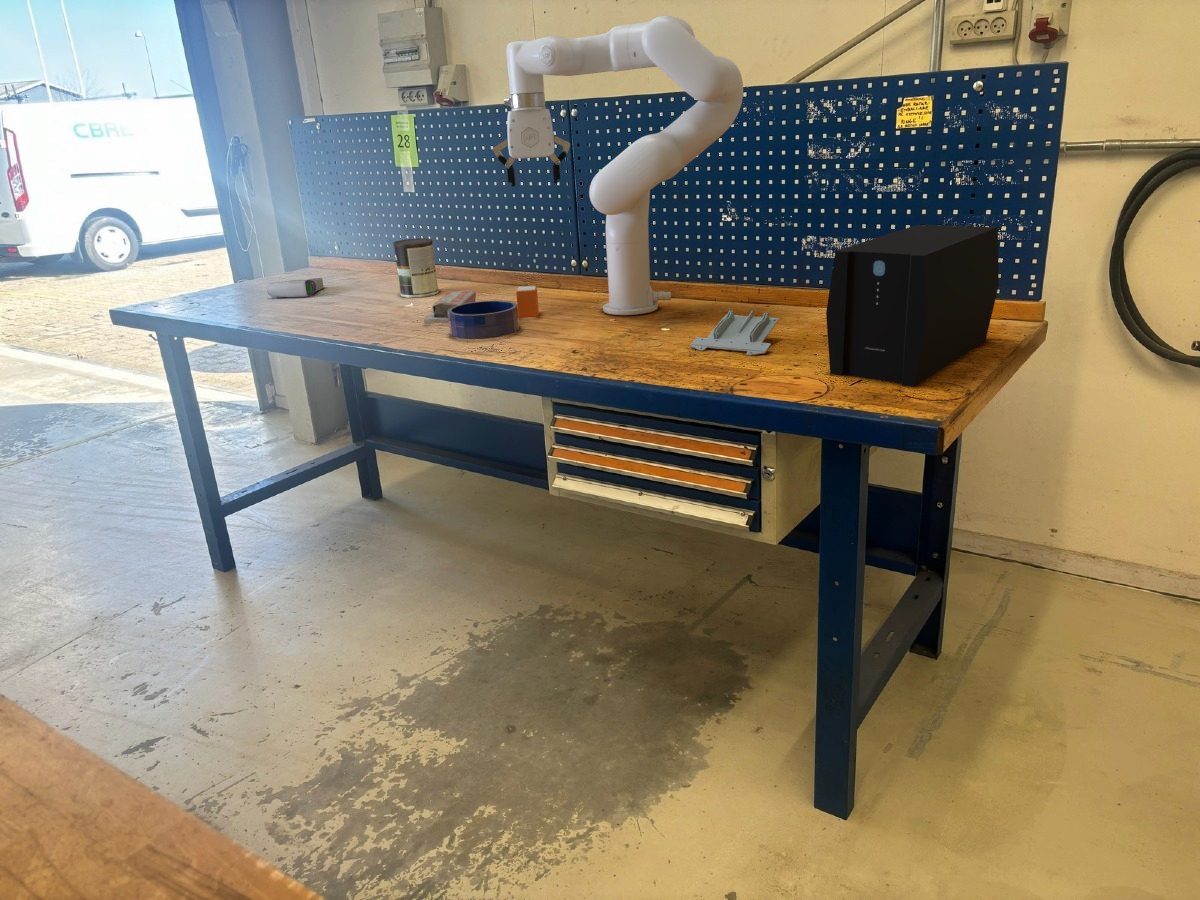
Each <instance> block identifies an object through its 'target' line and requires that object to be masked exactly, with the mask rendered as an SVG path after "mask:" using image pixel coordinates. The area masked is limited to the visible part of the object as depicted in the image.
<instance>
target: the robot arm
mask: <svg viewBox="0 0 1200 900" xmlns="http://www.w3.org/2000/svg"><path fill="white" fill-rule="evenodd" d="M505 52H506V53H505V54H506V66H507V76H508V86H509V87H508V88H509V97H507V98H503V105H504V106H508V107H510V108H511V110H508V111H507V118H506V119H507V121H506V127H507V131H506V133H507V138H506V139H504V140H503V141H502V142H500V143H498V144H497V145H495V146H494V147H493V148H492V152H493V153H494V155H495V157H496V158H497V160H498V161H499V162H500V163H501V164H502V165H503V166H504V167H505V168H506V171H507V173H506V174H507V181H508V182H507V183H510V184H511V187H515V186H516V175H515V167H514V165H513V164H514V162H515V161H516V159H531V158H534V159H535V158H546V157H549V159H550V160H551V161H552V162H553V165H552V171H553V173H552V174H553V175H552V176H553V183H554V184H555V185H557V184H558V182H559V181H558V180H561V170H560V169H561V168H560V164H561V163H562V161H563V160H564V159H565V158H566V157H567V155H568V153H569V150H570V147H571V143H570V142H569V141H566V140H564V139H562V138H560V137H558V136H556V135H554V129H553V123H552V122H553V121H552V117H551V112H550V109H549V108H546V96H545V95H546V94H545V84H544V83H545V82H544V76H555V77H556V76H561V77H562V76H563V77H574V76H583V75H591V74H592V75H593V74H599V73H608V72H613V73H614V72H615V73H617V72H623V71H631V70H639V69H648V68H658V69H660V70H661V72H663V74H665V75H666V76H667V77H668V78H670V79H671V80H672V81H673V82H674V83H675V84H676V85H677V86H678V87H680V88H681V89H682V90H683V91H684V92H685V93H686V94H687V95H689V96H690V97H691V98H693V99H694V100H696V102H695V104H693V105H692V106H691V107H690V108H688V109H687V110H686V111H684V112H683V113H681V115H679V116H678V117H677V118H676V119H675V120H674V121H672V122H671V123H670V124H669V125H668V126H666V127H665V128H663V130H661V131H659V132H657V133H652V134H647V135H644V136H641V137H640V138H638V139H637V140H635V141H634V142H632V143H631V144H630V145H629V146H627V147H626V148H625V149H624V150H623V151H622V152H620V153H619V154H618V155H617V156H616V157H614V158H613V159H612V160H611V161H610V162H609V163H607V164H606V165H605V166H604V167H602V168H601V169H600V170H599V171H598V172H597V173H596V174H595V175H594V176H593V178H592V180H591V182H590V185H589V190H588V191H589V192H588V195H589V199H590V203H591V205H592V206H593V208H594V209H595V210H596V211H597V212H599V213H601V214H604V215H605V246H606V247H605V249H606V266H607V268H606V269H607V284H608V302H606V303H605V304H603V306H602V311H603V313H605V314H608V315H614V316H636V315H644V314H649V313H652V312H654V311H656V310H658V308H659V304H658V301H664V302H665V301H672V293H671V291H664V290H663V291H655V290H653V287H652V286H651V271H650V270H651V268H650V266H651V265H650V238H649V237H650V236H649V235H650V234H649V233H650V232H649V212H650V200H651V199H650V198H651V190H652V189H654V188H655V187H656V186H657V185H659V184H660V183H662V182H665V181H668V180H670V179H672V178H674V177H676V175H678V173H679V172H680V171H682V169H684V168H685V167H686V166H687V165H689V164H690V163H691V162H692V161H693V160H695V159H696V158H697V157H698V156H699V155H700V154H702V153H703V152H704V151H705V150H706V149H707V148H709V147H710V146H712V145H713V144H714V143H715V142H716V141H717V140H718V139H719V138H720V137H722V136H723V135H724V134H725V132H727V131H728V129H730V127H732V125H733V123H734V122H735V120H736V119H737V116H738V115H739V112H740V109H741V107H742V104H743V99H744V82H743V77H742V73H741V70H740V69H739V67H738V65H737V64H736V62H734V61H733V60H731V59H729V58H727V57H724V56H720V55H716V54H714V53H713V51H711V50H710V49H709V48H707V47H706V46H705V45H704V44H702V43H701V42H700V41H699V40H698V39H697V38H696V37H695V33H694V30H693V28H692V26H691V25H690V24H689V22H687V21H686V20H684V19H682V18H679V17H676V16H672V15H660V16H657V17H654V18H652V19H651V20H649V21H643V22H637V23H627V24H619V25H615V26H613V27H612V28H610V30H609V31H607V32H604V33H601V34H595V35H589V36H581V37H564V36H557V35H548V36H543V37H539V38H537V39H533V40H531V39H530V40H529V39H527V40H525V39H524V40H515V41H511V42H509V43H507V45H506V48H505ZM555 144H557V145H559V146H562V151H561V153H559V155H558V156H557V155H556V154H555ZM506 147H507V148H508V155H509V157H508V159H507V158H506V157H505V156H504V155H503V153H502V150H504V149H505V148H506Z"/></svg>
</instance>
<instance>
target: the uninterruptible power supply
mask: <svg viewBox="0 0 1200 900" xmlns="http://www.w3.org/2000/svg"><path fill="white" fill-rule="evenodd" d="M999 271H1000V270H999V227H998V226H979V225H977V226H975V225H945V224H944V225H941V224H940V225H939V224H935V225H934V224H915V225H911V226H909V227H906V228H903V229H899V230H897V231H893V232H890V233H887V234H885V235H881V236H878V237H875V238H872V239H869V240H865V241H863V242H860V243H859V242H858V243H856V244H853V245H850V246H847V247H843V248H841V249H838V250H835V251H834V257H833V263H832V270H831V277H830V282H829V283H830V284H829V291H828V298H827V303H826V309H825V311H826V312H825V316H826V317H825V318H826V334H827V346H828V347H827V348H828V359H829V360H828V361H829V373H830V374H831V375H835V376H853V377H857V378H863V379H864V378H865V379H871V380H877V381H884V382H891V383H897V384H901V385H902V386H907V387H916V386H917V385H919V384H920V383H922V382H923V381H925V380H927V379H928V378H929V377H931V376H933V375H935V374H936V373H937V372H938V371H941V370H942V369H944V368H945V367H946V366H949V365H950V364H951V363H953V362H954V361H956V360H958V359H959V358H960V357H962V356H964V355H966V354H967V353H969V352H970V351H972V350H973V349H974V348H976V347H978V346H979V345H981V344H982V343H985V342H986V340H987V337H988V333H989V328H990V325H991V324H990V323H991V319H992V316H993V311H994V307H995V304H996V299H997V295H998V291H999V287H1000V281H999V280H1000V278H999V276H1000V274H999Z"/></svg>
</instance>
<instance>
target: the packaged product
mask: <svg viewBox="0 0 1200 900" xmlns="http://www.w3.org/2000/svg"><path fill="white" fill-rule="evenodd" d="M476 299H477V293H476V292H475V291H474V290H471V289H463V290H452V291H450V292H448V293H447V294H445V295H444V296H443V297H441V298H440V299H439V300H437V301H435V302H434V303H433V304H432V307H431V309H432V312H431V313H429V314H427V316H425V317H423V322H424V323H423V324H449V319H448V310H449V309H450V308H452V307H454V306H457V305H460V304H465V303H471V302H477V301H476Z"/></svg>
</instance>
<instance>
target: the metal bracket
mask: <svg viewBox="0 0 1200 900" xmlns="http://www.w3.org/2000/svg"><path fill="white" fill-rule="evenodd" d="M779 321H780V318H777V317H770V313H769V312H764V313H763V315H762V316H755V311H754V310H751V311H750V313H749V314H748V315H738V314H735V312H734V310H731V309H730V310H728V312H727V314H724V316H723V317H722V318H721V319H720V321H719V322H718V323H717V325H716V326H715V327H714V328H713V329H712V330H711V332H710V333H709V334H708V336H707V337H703V336H702V337H701V336H696V337H695V338H694V339H693V341H692V342H691V343H690V347H692V348H693V349H696V350H698V351H701V352H703V351H706V349H718V350H728V351H738V352H739V351H740V352H746V355H747V356H756V355H761V354H766V353H767V352H768V351H769V350H770V348H771V347H772V343H770V342H764V341H765V340H766V338H767V337H768V336H769V335H770V333H771V331H772V330H773V329H774V327H775V326H776V325H777V323H778V322H779Z"/></svg>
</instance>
